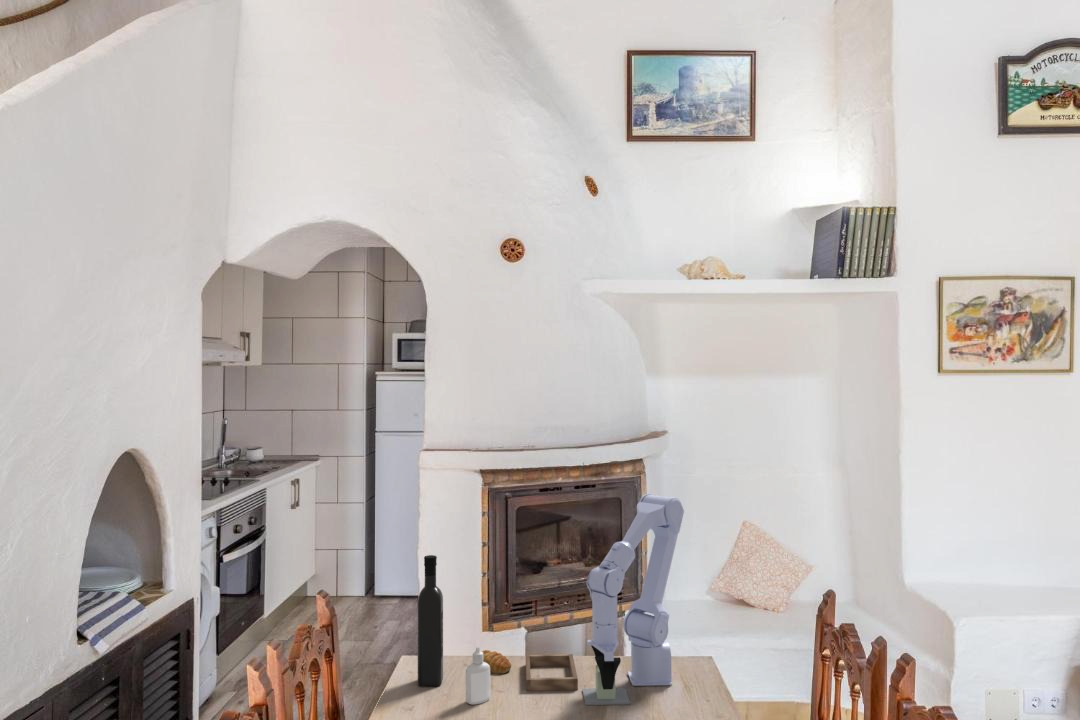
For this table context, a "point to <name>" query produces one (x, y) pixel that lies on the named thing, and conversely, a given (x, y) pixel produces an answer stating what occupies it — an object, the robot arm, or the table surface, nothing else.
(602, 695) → the wood block
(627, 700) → the mat
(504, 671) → the pastry
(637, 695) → the table surface
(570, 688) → the box
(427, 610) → the wine bottle
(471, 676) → the eye dropper bottle
